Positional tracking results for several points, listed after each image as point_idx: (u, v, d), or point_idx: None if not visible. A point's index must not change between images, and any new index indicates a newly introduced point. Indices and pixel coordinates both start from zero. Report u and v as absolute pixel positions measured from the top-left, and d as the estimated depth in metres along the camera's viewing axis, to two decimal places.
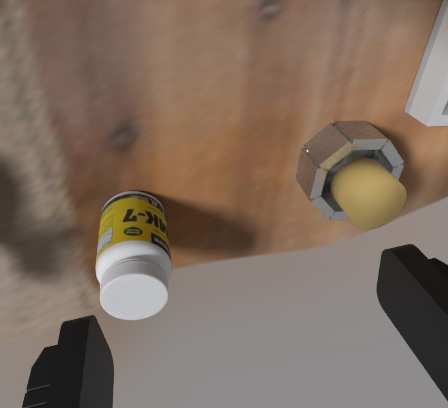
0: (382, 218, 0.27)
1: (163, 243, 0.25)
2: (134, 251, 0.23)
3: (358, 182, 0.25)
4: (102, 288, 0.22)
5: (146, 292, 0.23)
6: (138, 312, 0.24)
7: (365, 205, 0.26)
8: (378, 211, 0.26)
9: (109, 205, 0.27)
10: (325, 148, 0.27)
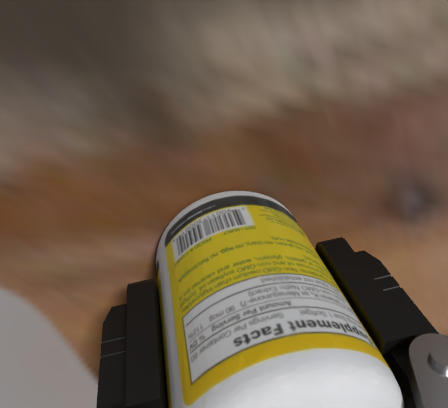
0: None
1: None
2: None
3: None
4: None
5: None
6: None
7: None
8: None
9: (291, 219, 0.11)
10: None
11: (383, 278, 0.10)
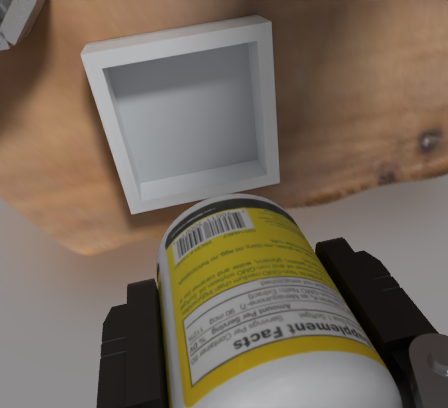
0: None
1: None
2: None
3: None
4: None
5: None
6: None
7: None
8: None
9: (290, 222, 0.11)
10: None
11: (383, 278, 0.10)
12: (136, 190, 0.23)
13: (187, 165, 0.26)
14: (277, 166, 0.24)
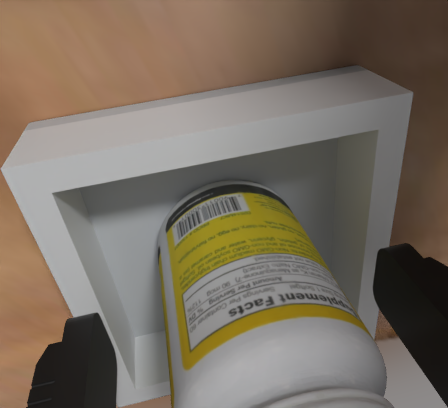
0: None
1: None
2: None
3: None
4: None
5: None
6: None
7: None
8: None
9: (284, 206, 0.12)
10: None
11: None
12: (127, 376, 0.13)
13: None
14: (374, 322, 0.14)
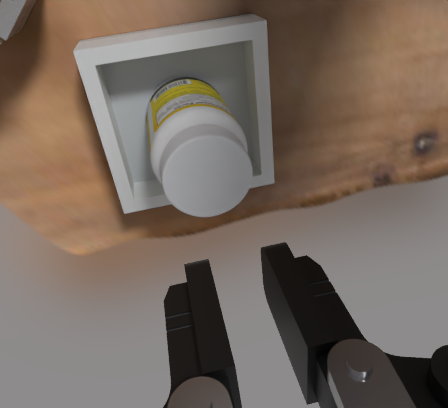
0: None
1: None
2: None
3: None
4: (222, 135, 0.16)
5: (219, 191, 0.17)
6: (180, 188, 0.17)
7: None
8: None
9: (213, 88, 0.22)
10: None
11: (321, 283, 0.10)
12: (129, 189, 0.23)
13: None
14: (272, 166, 0.24)
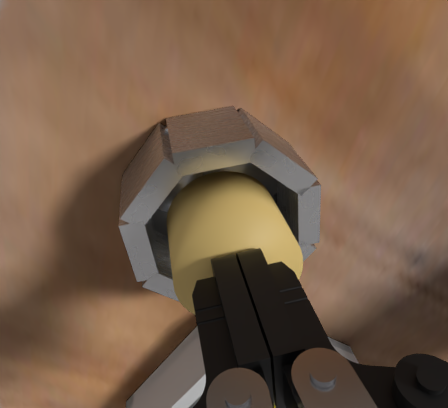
0: (196, 277, 0.11)
1: None
2: None
3: None
4: None
5: None
6: None
7: None
8: None
9: None
10: None
11: (293, 290, 0.10)
12: None
13: None
14: None
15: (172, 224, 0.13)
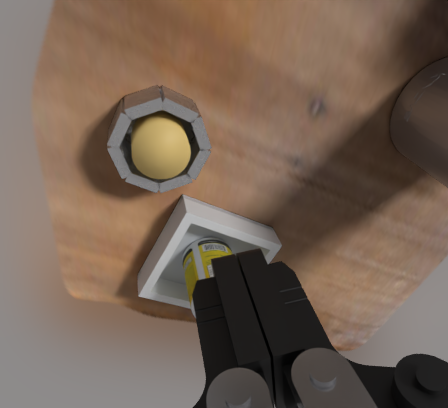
0: (142, 155, 0.26)
1: None
2: None
3: (187, 139, 0.27)
4: None
5: None
6: None
7: (168, 141, 0.26)
8: (154, 153, 0.27)
9: None
10: None
11: (293, 290, 0.10)
12: (153, 285, 0.34)
13: (183, 279, 0.38)
14: None
15: (131, 137, 0.28)
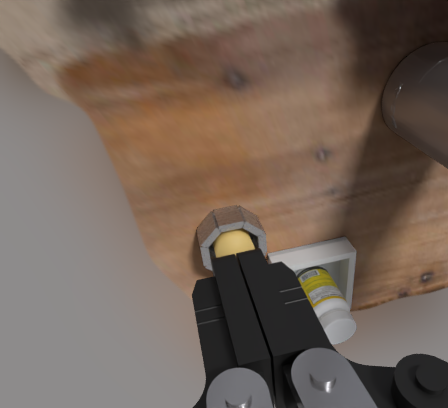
0: None
1: None
2: None
3: (246, 236, 0.39)
4: (347, 317, 0.40)
5: (342, 335, 0.42)
6: (328, 335, 0.41)
7: (236, 247, 0.39)
8: None
9: (326, 271, 0.46)
10: (251, 220, 0.40)
11: (293, 290, 0.10)
12: None
13: None
14: (350, 302, 0.49)
15: None
